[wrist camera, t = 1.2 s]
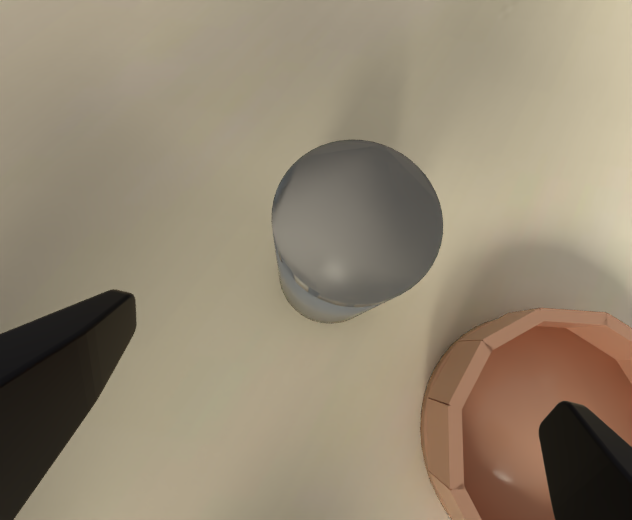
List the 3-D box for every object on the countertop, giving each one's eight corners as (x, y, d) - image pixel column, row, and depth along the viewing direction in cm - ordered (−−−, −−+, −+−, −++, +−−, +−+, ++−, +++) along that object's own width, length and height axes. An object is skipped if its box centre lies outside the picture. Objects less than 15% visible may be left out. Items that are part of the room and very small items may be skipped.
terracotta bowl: (694, 489, 19) (781, 519, 16) (503, 626, 17) (555, 694, 14) (561, 280, 21) (613, 266, 18) (378, 380, 19) (396, 387, 16)
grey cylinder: (396, 295, 21) (474, 256, 12) (306, 341, 20) (320, 335, 11) (350, 210, 21) (391, 116, 13) (262, 250, 21) (243, 178, 12)
